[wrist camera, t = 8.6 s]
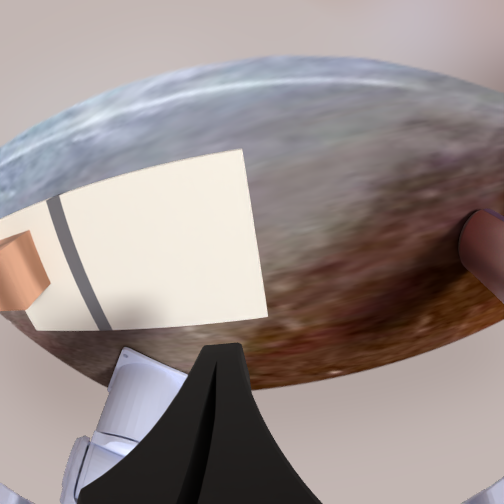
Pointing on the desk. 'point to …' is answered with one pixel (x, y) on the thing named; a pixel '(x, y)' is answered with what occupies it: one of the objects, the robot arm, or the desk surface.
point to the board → (148, 249)
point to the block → (20, 272)
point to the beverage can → (484, 249)
